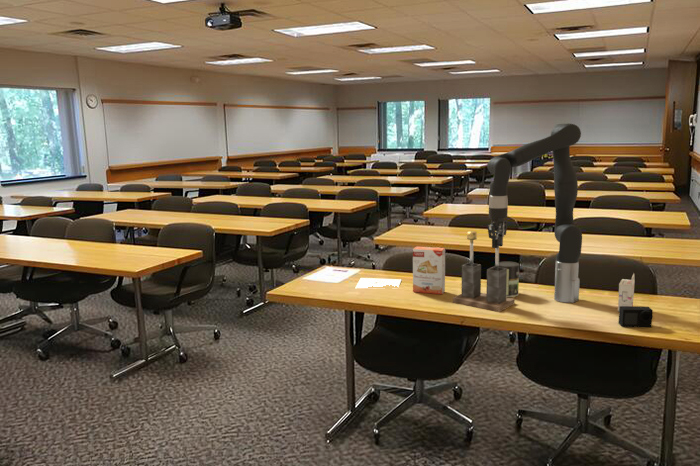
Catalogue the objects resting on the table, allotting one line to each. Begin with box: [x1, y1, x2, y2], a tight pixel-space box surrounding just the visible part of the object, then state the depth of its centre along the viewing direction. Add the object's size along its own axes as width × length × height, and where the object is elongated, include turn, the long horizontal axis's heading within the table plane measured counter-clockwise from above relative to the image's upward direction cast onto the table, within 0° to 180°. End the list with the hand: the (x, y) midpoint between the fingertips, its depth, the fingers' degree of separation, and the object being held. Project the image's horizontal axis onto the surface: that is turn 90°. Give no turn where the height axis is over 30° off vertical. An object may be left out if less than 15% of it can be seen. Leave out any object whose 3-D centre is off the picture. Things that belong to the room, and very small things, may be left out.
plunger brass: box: [466, 230, 478, 267], centre depth 244 cm, size 4×4×18 cm
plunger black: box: [494, 236, 502, 271], centre depth 236 cm, size 4×4×18 cm
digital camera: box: [618, 305, 654, 328], centre depth 211 cm, size 10×5×7 cm, turn 83°
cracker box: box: [412, 245, 446, 295], centre depth 260 cm, size 14×6×21 cm, turn 68°
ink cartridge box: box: [617, 273, 636, 312], centre depth 229 cm, size 9×5×15 cm, turn 148°
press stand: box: [452, 262, 515, 313], centre depth 242 cm, size 22×14×16 cm, turn 49°
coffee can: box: [499, 260, 520, 298], centre depth 254 cm, size 10×10×14 cm
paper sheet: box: [354, 277, 402, 289], centre depth 273 cm, size 24×29×1 cm
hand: (497, 246), depth 235 cm, fingers closed on plunger black, 4 cm apart
